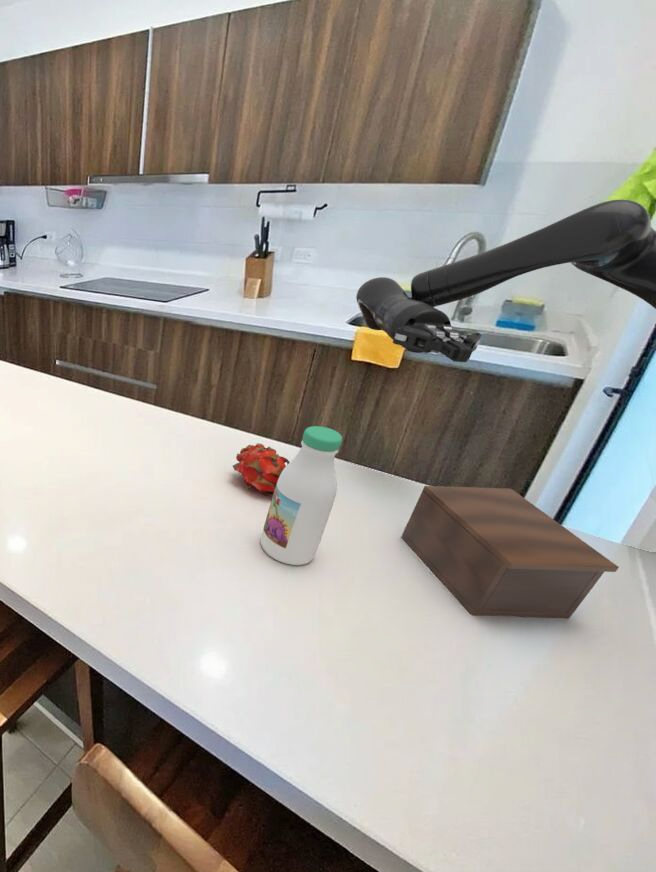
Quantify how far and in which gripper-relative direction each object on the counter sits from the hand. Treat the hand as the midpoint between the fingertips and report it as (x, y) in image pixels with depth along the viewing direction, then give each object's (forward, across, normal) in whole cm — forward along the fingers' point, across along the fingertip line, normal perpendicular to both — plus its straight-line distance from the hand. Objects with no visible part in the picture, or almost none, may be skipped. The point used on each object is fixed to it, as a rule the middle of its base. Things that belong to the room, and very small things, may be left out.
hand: (464, 355), depth 73 cm
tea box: (+16, +4, +27) cm, 32 cm away
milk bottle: (+17, -22, +27) cm, 39 cm away
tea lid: (+17, +5, +18) cm, 25 cm away
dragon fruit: (0, -23, +27) cm, 35 cm away
